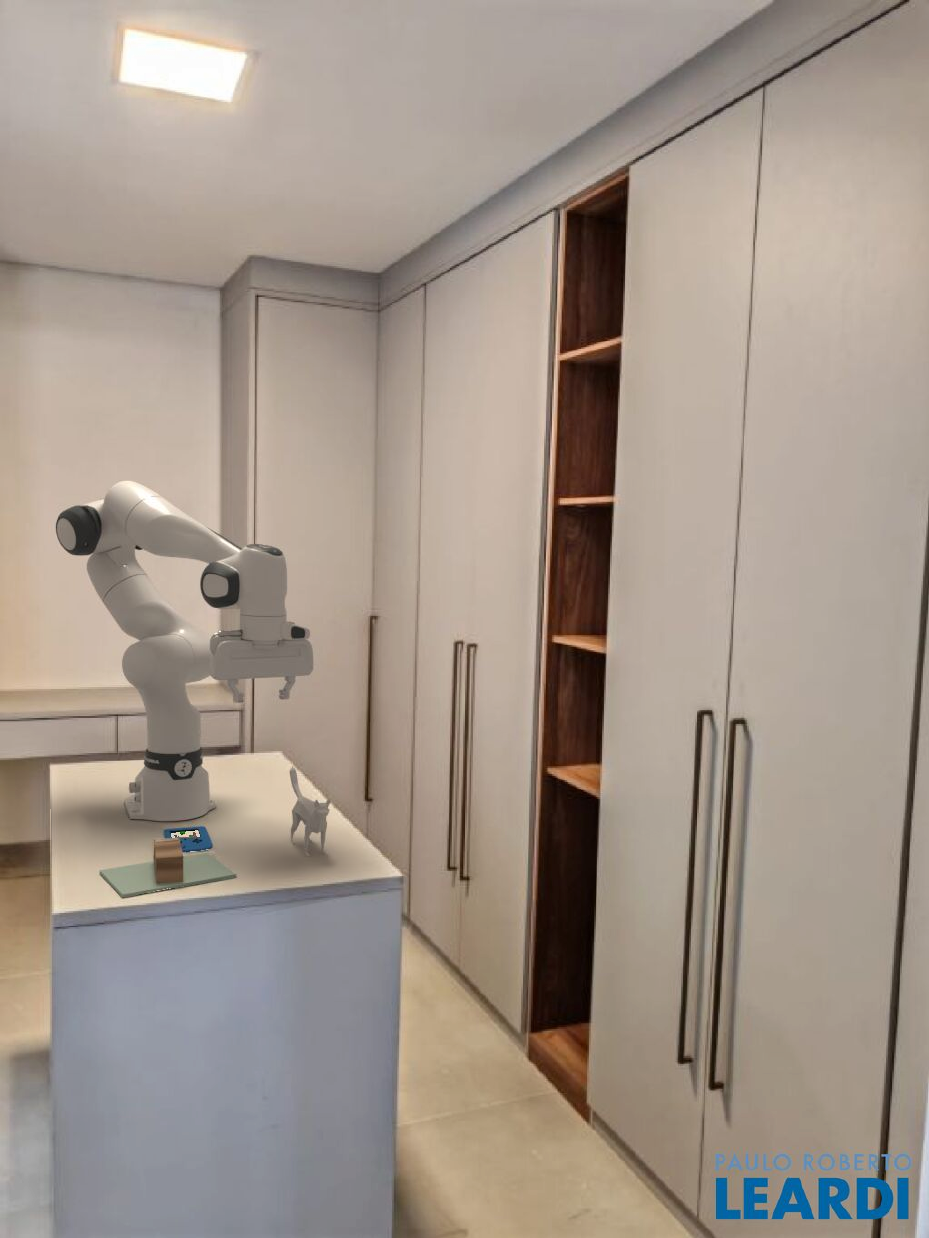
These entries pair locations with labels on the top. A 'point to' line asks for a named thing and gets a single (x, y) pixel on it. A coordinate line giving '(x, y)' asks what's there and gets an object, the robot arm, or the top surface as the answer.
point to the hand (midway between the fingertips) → (261, 700)
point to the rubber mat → (144, 881)
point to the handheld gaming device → (191, 838)
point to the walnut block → (168, 860)
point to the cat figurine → (308, 814)
